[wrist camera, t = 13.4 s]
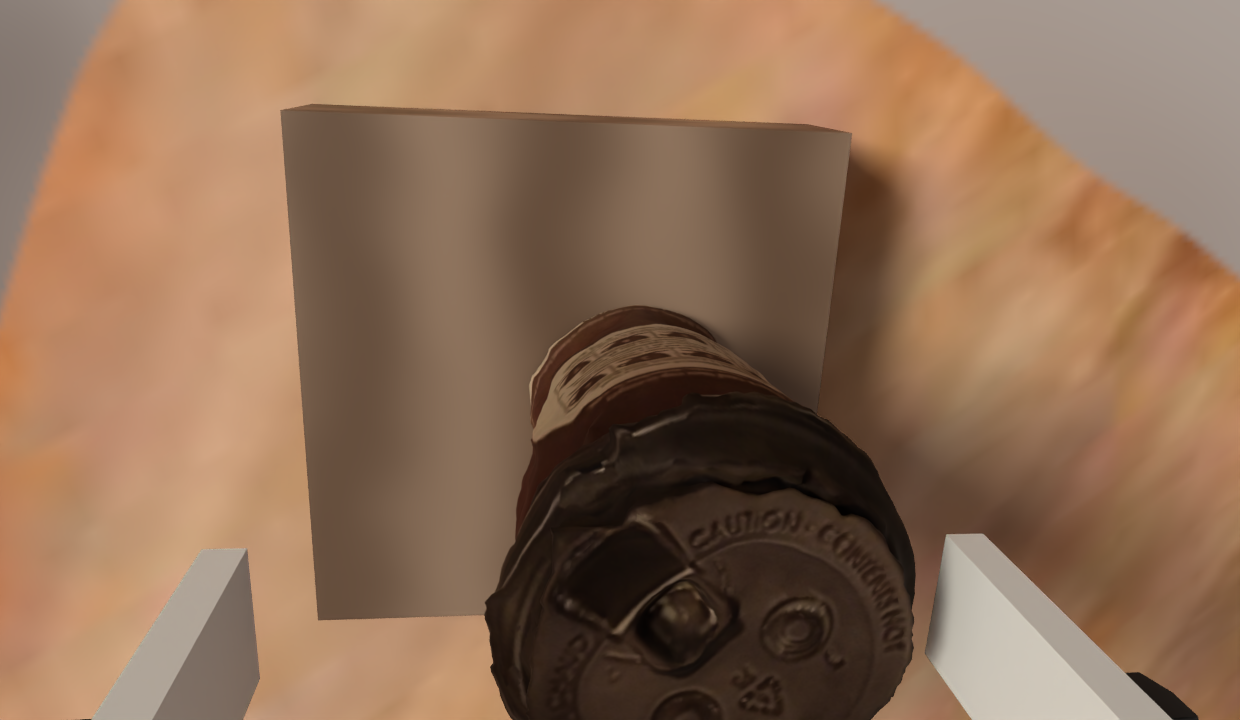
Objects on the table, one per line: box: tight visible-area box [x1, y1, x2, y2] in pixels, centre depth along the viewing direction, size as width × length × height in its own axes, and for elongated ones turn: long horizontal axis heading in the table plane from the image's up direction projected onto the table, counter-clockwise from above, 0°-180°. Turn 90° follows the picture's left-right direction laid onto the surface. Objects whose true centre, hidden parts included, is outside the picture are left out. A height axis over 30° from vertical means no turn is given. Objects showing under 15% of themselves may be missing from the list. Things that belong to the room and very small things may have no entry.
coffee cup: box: [484, 305, 915, 720], centre depth 21 cm, size 9×8×13 cm
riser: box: [281, 104, 852, 620], centre depth 29 cm, size 16×16×4 cm
